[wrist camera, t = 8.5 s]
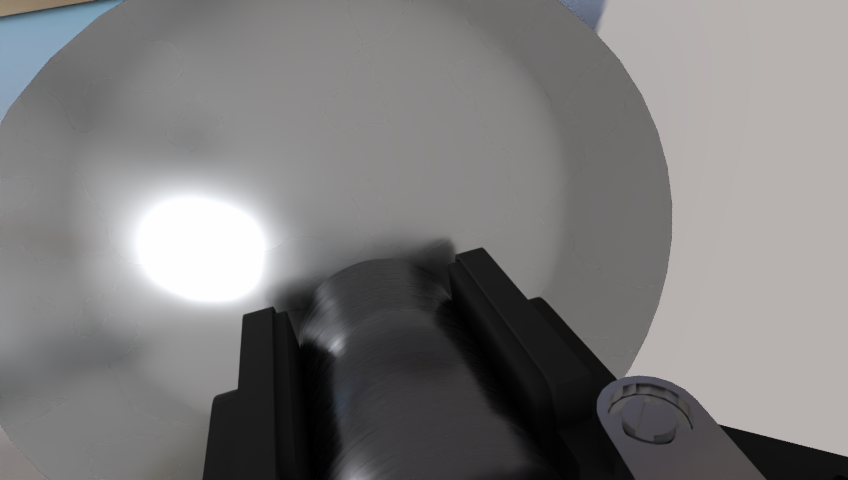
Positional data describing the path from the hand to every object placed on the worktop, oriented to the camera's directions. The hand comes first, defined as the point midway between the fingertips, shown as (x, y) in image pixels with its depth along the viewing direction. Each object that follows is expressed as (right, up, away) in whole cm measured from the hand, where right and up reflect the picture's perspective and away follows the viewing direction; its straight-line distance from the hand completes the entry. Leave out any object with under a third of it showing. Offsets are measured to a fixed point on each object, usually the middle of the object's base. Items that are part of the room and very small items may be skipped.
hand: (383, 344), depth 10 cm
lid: (0, +1, +1) cm, 2 cm away
